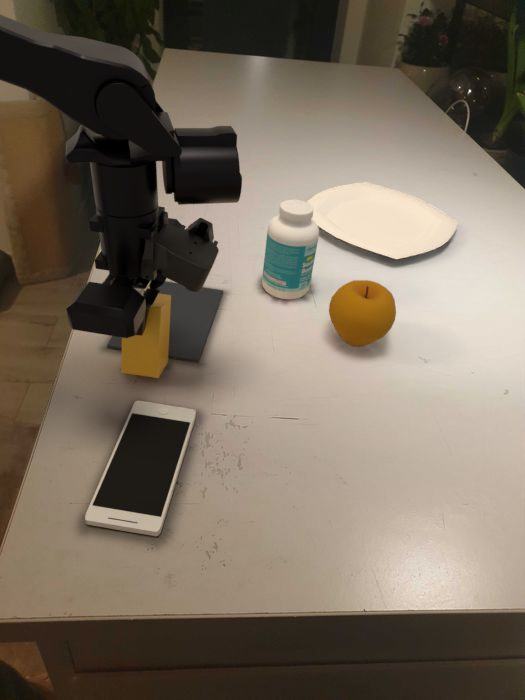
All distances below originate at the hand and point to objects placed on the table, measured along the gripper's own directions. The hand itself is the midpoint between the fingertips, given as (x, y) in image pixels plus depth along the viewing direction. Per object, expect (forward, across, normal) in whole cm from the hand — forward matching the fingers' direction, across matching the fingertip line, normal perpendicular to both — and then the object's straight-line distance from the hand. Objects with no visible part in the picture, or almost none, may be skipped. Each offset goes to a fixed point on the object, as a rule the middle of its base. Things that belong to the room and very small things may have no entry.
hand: (138, 333), depth 59 cm
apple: (+8, +14, -26) cm, 31 cm away
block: (+7, +2, 0) cm, 7 cm away
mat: (+7, +12, 0) cm, 14 cm away
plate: (+8, +50, -30) cm, 59 cm away
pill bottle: (+7, +24, -15) cm, 29 cm away
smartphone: (+7, -12, -4) cm, 15 cm away
